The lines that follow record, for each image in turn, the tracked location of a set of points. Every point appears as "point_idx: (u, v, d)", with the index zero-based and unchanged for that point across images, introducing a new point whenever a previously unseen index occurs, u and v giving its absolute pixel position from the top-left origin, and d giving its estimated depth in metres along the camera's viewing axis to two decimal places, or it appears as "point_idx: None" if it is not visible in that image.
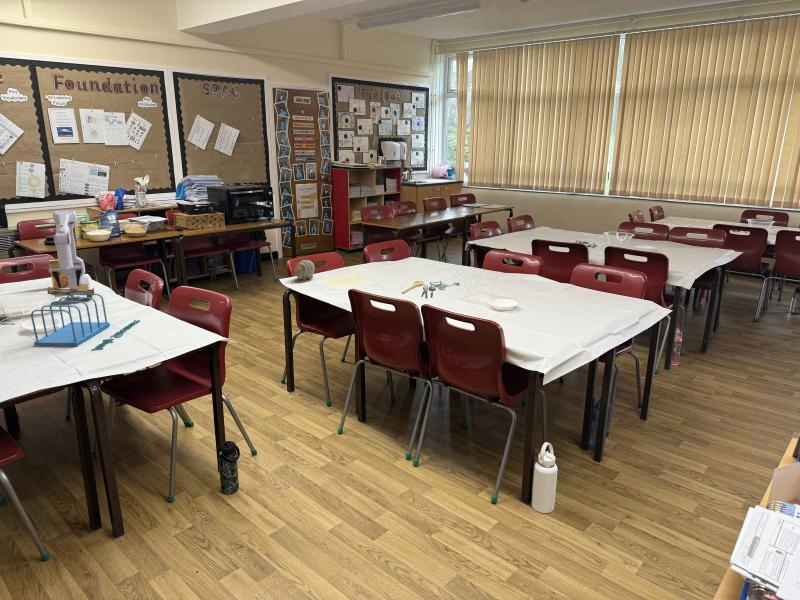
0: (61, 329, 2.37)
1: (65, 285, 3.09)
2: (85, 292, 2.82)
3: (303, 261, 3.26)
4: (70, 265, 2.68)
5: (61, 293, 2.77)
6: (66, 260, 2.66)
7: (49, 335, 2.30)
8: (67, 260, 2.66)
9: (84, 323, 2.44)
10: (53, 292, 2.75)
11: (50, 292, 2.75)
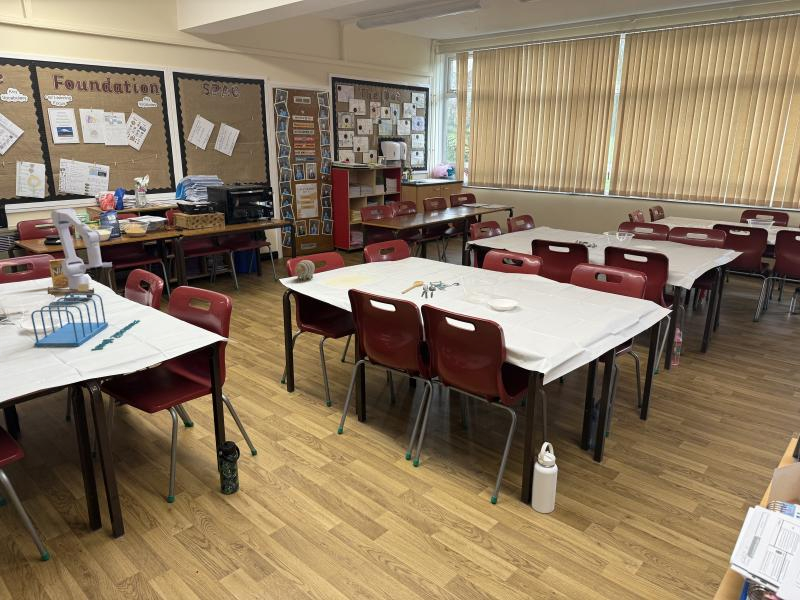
0: (59, 330, 2.36)
1: (65, 285, 3.09)
2: (85, 292, 2.82)
3: (303, 261, 3.26)
4: (100, 262, 2.83)
5: (61, 293, 2.77)
6: (96, 258, 2.81)
7: (48, 336, 2.29)
8: (97, 258, 2.82)
9: (82, 323, 2.44)
10: (53, 292, 2.75)
11: (50, 292, 2.75)
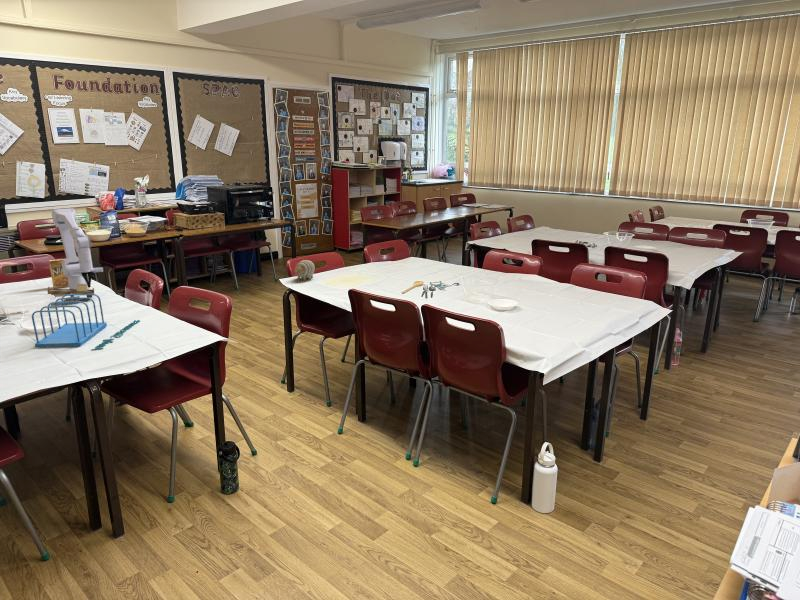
0: (58, 330, 2.35)
1: (65, 285, 3.09)
2: (85, 292, 2.82)
3: (303, 261, 3.26)
4: (90, 267, 2.82)
5: (61, 293, 2.77)
6: (87, 263, 2.80)
7: (48, 336, 2.28)
8: (88, 263, 2.80)
9: (80, 324, 2.43)
10: (53, 292, 2.75)
11: (50, 292, 2.75)
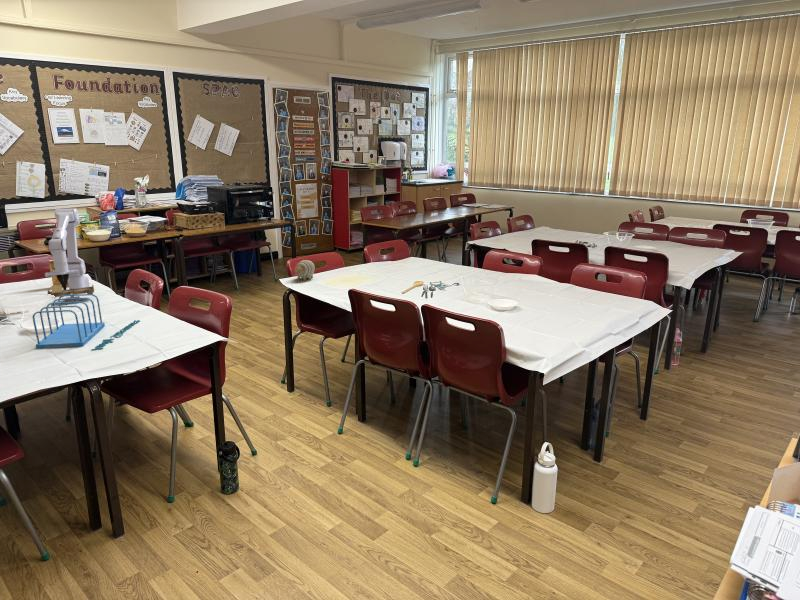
0: (56, 331, 2.34)
1: None
2: (85, 290, 2.82)
3: (303, 261, 3.26)
4: (66, 270, 2.77)
5: (61, 294, 2.77)
6: (62, 265, 2.75)
7: (47, 337, 2.27)
8: (63, 265, 2.75)
9: None
10: None
11: None
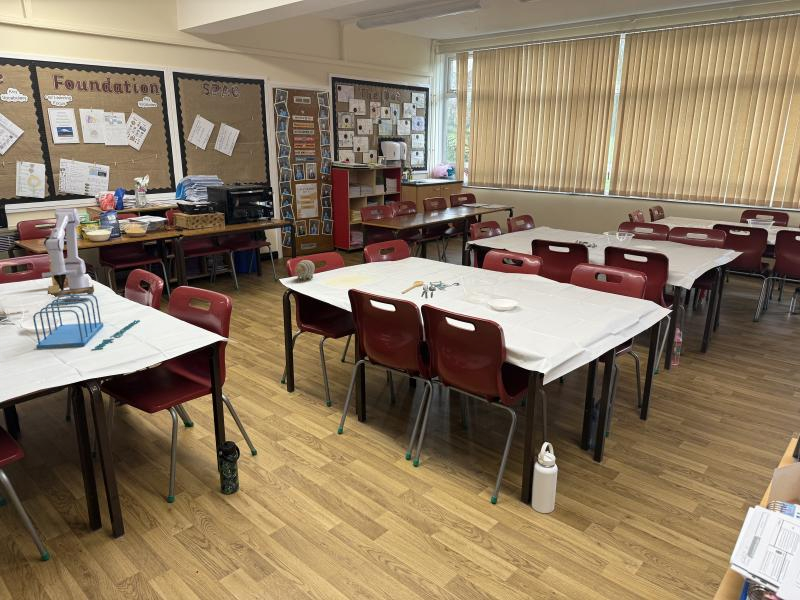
0: (55, 332, 2.33)
1: (65, 285, 3.09)
2: (85, 290, 2.82)
3: (303, 261, 3.26)
4: (63, 270, 2.76)
5: (61, 294, 2.77)
6: (59, 266, 2.74)
7: (47, 338, 2.27)
8: (60, 266, 2.75)
9: (76, 325, 2.42)
10: None
11: None
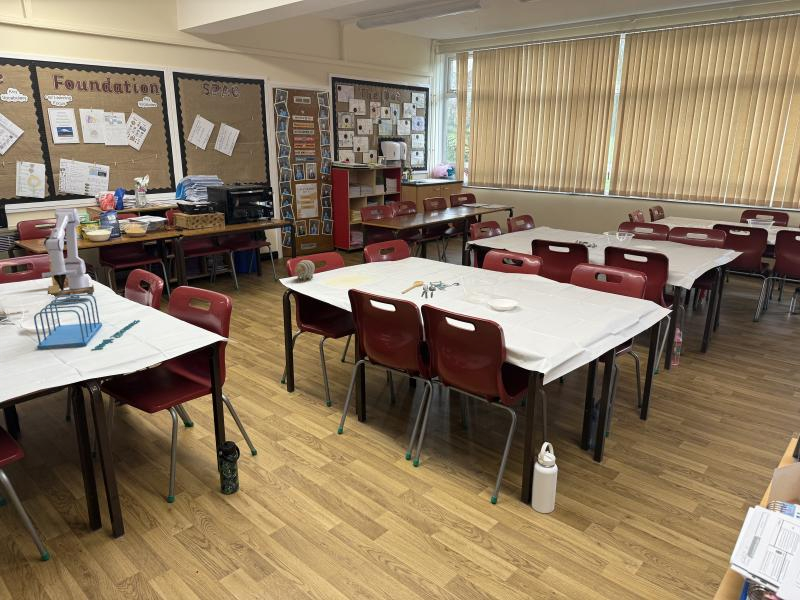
0: (55, 332, 2.33)
1: (65, 285, 3.09)
2: (85, 290, 2.82)
3: (303, 261, 3.26)
4: (63, 270, 2.76)
5: (61, 294, 2.77)
6: (59, 266, 2.74)
7: (47, 338, 2.26)
8: (60, 266, 2.75)
9: (74, 325, 2.41)
10: None
11: None
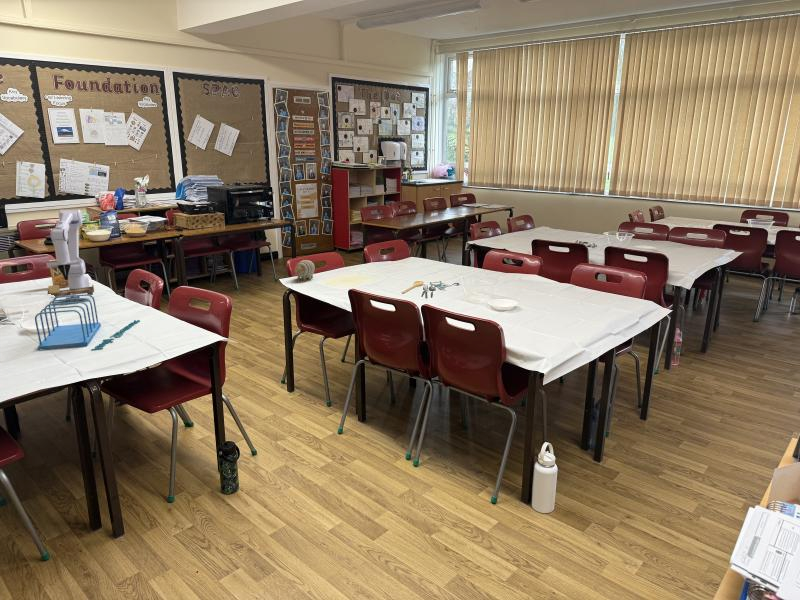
0: (54, 333, 2.32)
1: (65, 285, 3.09)
2: (85, 290, 2.82)
3: (303, 261, 3.26)
4: (67, 260, 2.80)
5: (61, 294, 2.77)
6: (64, 256, 2.78)
7: (47, 339, 2.25)
8: (65, 255, 2.78)
9: (73, 325, 2.41)
10: None
11: None
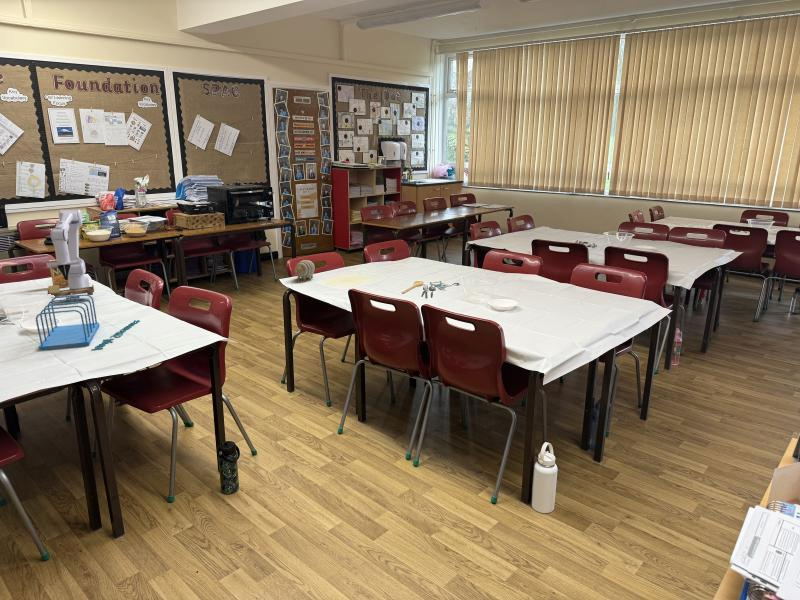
0: (53, 333, 2.32)
1: (65, 285, 3.09)
2: (85, 290, 2.82)
3: (303, 261, 3.26)
4: (67, 260, 2.80)
5: (61, 294, 2.77)
6: (64, 256, 2.78)
7: (47, 339, 2.25)
8: (65, 255, 2.78)
9: (71, 326, 2.41)
10: None
11: None
